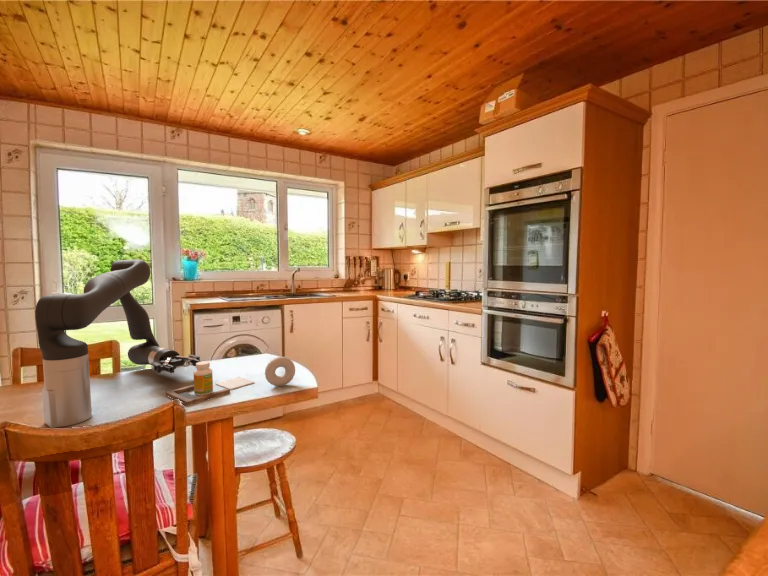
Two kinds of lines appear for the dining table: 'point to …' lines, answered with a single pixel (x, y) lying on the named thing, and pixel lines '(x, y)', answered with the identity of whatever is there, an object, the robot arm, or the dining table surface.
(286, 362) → the donut
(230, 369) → the dining table surface
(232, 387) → the pad
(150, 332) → the robot arm
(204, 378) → the supplement bottle
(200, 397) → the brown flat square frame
